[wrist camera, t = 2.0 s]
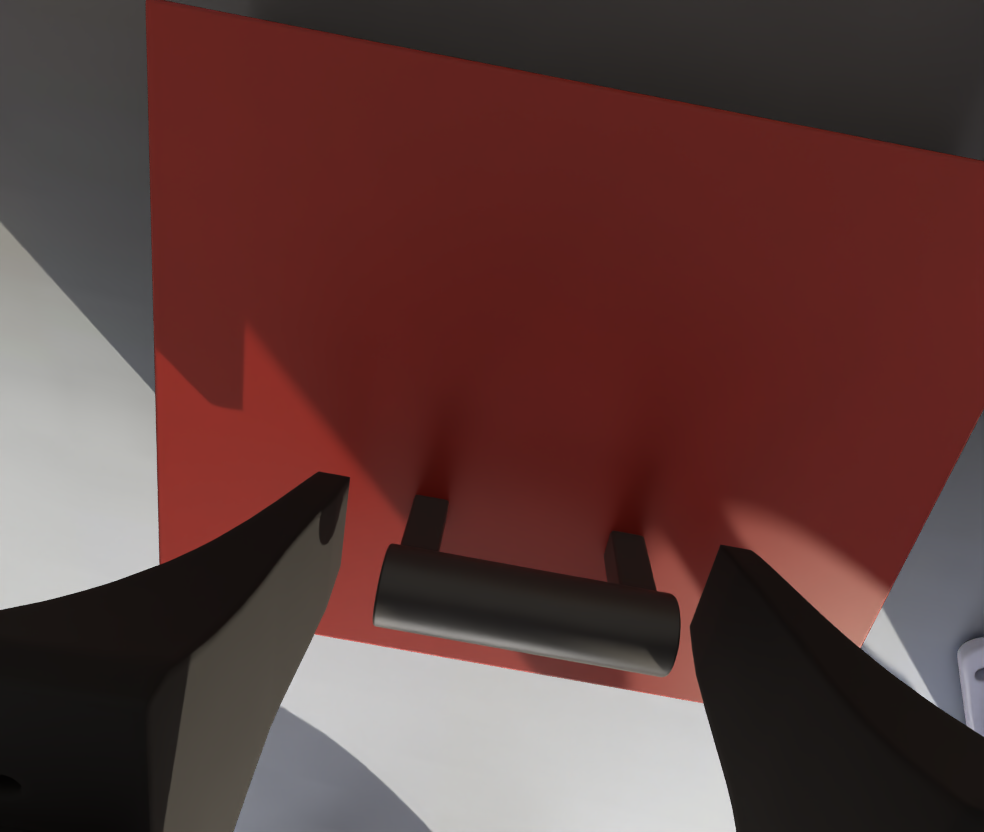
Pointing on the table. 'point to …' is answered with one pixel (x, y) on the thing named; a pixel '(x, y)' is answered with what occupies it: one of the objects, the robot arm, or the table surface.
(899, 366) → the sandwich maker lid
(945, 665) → the table surface
